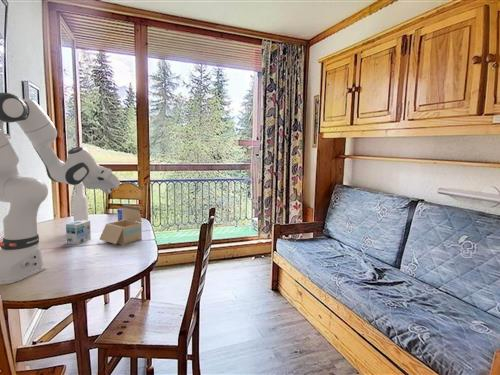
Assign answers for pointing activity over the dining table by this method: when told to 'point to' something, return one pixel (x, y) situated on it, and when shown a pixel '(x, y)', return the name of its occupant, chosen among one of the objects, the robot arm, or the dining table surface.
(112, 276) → the dining table surface
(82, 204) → the bottle
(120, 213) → the ink cartridge box
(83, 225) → the light bulb box
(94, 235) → the dining table surface
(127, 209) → the flap
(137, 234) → the carton
